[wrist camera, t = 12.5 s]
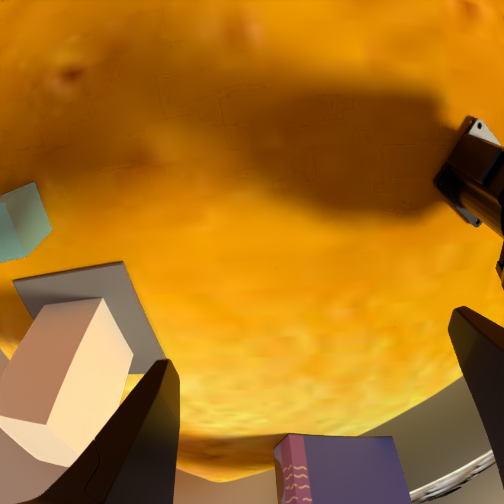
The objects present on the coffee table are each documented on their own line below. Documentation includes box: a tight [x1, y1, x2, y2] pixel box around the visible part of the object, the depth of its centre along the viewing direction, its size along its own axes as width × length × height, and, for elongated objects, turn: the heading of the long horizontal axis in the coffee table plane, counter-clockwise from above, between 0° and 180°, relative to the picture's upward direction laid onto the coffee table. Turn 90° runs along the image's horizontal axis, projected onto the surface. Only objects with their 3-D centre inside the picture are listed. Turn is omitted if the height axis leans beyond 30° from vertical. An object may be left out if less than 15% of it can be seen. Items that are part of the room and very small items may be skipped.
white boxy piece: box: [0, 298, 134, 467], centre depth 20 cm, size 7×7×12 cm
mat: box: [13, 262, 166, 374], centre depth 25 cm, size 12×12×1 cm
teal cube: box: [0, 182, 52, 263], centre depth 18 cm, size 4×4×4 cm
